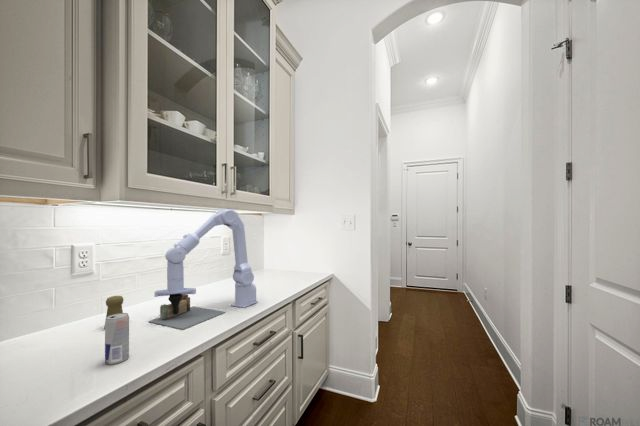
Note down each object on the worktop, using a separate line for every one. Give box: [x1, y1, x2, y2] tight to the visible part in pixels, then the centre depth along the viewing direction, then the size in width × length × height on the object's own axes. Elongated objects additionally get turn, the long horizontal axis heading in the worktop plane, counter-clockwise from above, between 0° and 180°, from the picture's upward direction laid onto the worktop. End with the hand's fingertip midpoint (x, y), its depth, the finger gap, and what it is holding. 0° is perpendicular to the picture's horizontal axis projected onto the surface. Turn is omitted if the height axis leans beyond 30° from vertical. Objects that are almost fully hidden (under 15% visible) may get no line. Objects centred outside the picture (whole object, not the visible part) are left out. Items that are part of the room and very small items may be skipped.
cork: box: [103, 295, 124, 330], centre depth 101 cm, size 6×6×11 cm
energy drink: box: [104, 312, 130, 365], centre depth 77 cm, size 5×5×12 cm
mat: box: [148, 306, 226, 331], centre depth 110 cm, size 20×19×1 cm
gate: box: [160, 296, 191, 319], centre depth 111 cm, size 2×12×5 cm, turn 155°
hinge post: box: [180, 294, 189, 301], centre depth 117 cm, size 2×2×7 cm
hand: (175, 313), depth 108 cm, fingers closed
